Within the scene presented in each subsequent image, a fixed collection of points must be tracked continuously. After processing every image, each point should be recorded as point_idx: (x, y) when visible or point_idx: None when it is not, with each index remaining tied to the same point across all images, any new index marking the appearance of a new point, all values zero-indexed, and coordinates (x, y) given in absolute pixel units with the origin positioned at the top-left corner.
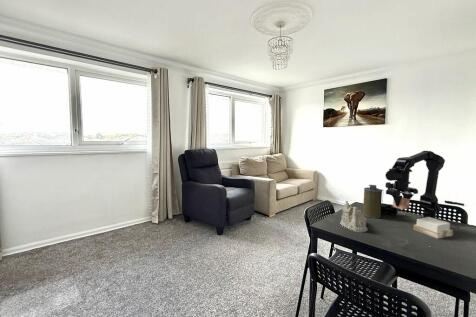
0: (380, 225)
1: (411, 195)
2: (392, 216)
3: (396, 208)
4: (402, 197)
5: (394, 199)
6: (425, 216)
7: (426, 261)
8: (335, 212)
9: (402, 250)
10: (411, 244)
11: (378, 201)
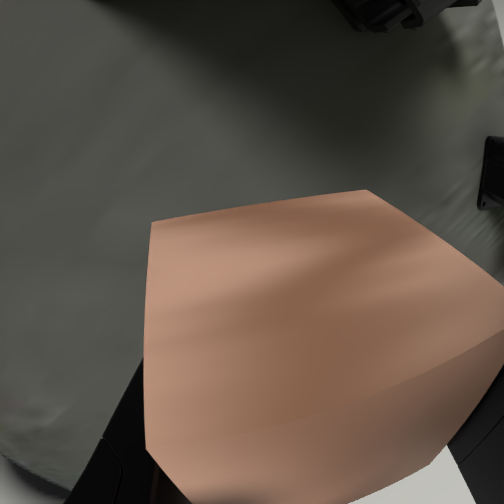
0: (2, 210)
1: (488, 501)
2: (337, 6)
3: (420, 20)
4: (492, 377)
5: (93, 475)
6: (497, 180)
7: (50, 477)
8: None
9: (7, 443)
10: (59, 432)
11: None
